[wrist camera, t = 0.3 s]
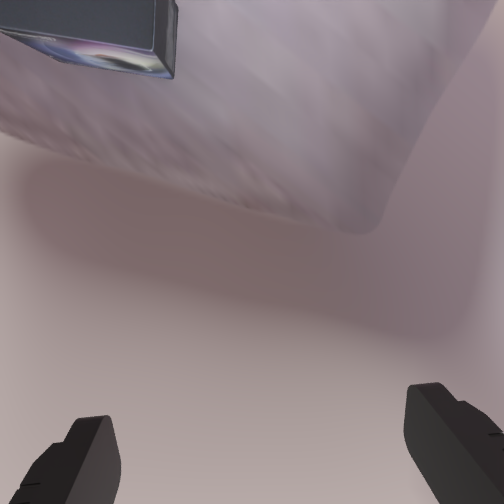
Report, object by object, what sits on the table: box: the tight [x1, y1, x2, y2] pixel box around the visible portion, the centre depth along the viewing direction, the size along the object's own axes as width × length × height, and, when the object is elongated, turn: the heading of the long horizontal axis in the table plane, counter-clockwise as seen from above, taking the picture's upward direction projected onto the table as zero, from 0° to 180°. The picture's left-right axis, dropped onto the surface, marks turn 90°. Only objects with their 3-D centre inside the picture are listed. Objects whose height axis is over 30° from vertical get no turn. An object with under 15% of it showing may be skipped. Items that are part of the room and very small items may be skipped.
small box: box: [0, 0, 178, 79], centre depth 26 cm, size 11×6×10 cm, turn 83°
